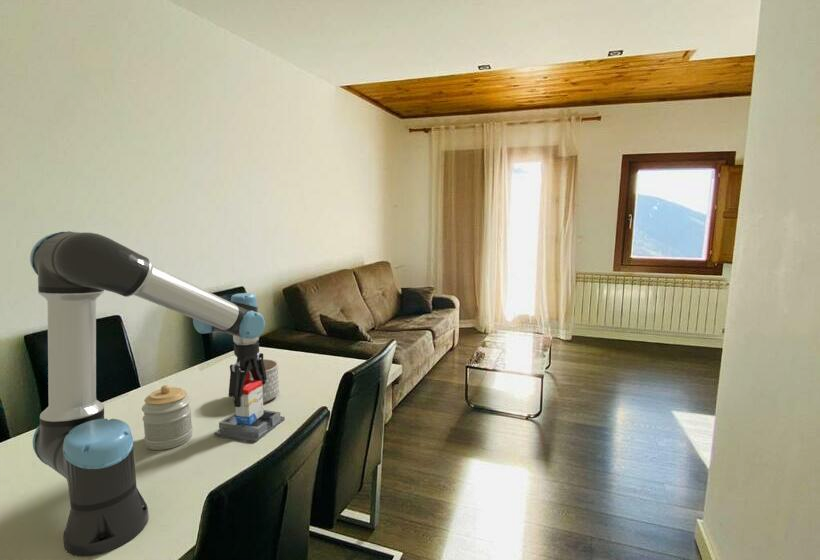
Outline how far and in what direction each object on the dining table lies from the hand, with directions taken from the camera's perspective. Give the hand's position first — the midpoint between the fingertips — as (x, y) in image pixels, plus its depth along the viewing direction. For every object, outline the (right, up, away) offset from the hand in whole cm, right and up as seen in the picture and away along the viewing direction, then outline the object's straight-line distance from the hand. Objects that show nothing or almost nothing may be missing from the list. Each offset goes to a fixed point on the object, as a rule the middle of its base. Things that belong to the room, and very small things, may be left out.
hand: (249, 409), depth 139 cm
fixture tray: (0, -6, +1) cm, 6 cm away
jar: (-22, -8, -7) cm, 24 cm away
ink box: (0, -4, 0) cm, 4 cm away
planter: (-6, -3, +25) cm, 26 cm away
